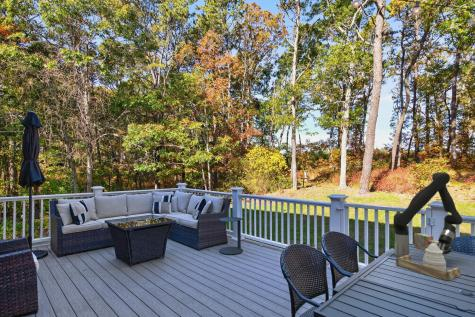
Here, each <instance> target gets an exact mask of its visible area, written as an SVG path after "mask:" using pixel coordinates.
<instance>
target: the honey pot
mask: <svg viewBox="0 0 475 317" xmlns="http://www.w3.org/2000/svg"><path fill="white" fill-rule="evenodd" d="M434 242H435V243H431V244H430V245H429V246H428V248H426V249H425V252H424V255H423V258H422V265H425V266H428V267H432V268H435V269H439V270H443V271H447V261H446V260H445V259H446V258H445V256H444V254H443V255H442V253H443V251H442V250H440V249H439V247H438V246H437V245H436V244H438V243H439V241H438V240H436V241H434Z"/></svg>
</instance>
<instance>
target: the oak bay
mask: <svg viewBox="0 0 475 317" xmlns="http://www.w3.org/2000/svg"><path fill="white" fill-rule="evenodd" d="M395 262H396V266H397V267H399V268H403V269H407V270H410V271H413V272H416V273H421V274H423V275H427V276H430V277H432V278H436V279H440V280H443V281H446V282H449V281H451V280H454V279H456V278H458V277H461V267H458V266H457V267H454V268H451V269H449V270H446V271H443V270H439V269H435V268H432V267H428V266H425V265H423V264H421V263H417V262H413V261H412V254H409V255H406V256H402V257H395Z"/></svg>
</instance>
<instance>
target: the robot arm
mask: <svg viewBox="0 0 475 317" xmlns="http://www.w3.org/2000/svg"><path fill="white" fill-rule="evenodd" d="M431 179H432V181H431V182H430V183H429V184H428V185H427V186H425V187H424V188H422V189H420V190H419V191H418V192H417V193H416V194H415V195H414V196H413V197H412V198H411V200H410V202H409V204H408V205H407V207H406V208H405V209H404V211H402V212H396V213H395V214H394V216H393V229H394V240H395V241H394V255H395V257H396V258H399V257H402V256H406V255H410V233H409V230H408V229H409V228H408V225H409V224H410V223H411V221H412V220H413V219H414V217H415V216H416V215H417V214H418V213H419V212H420V211H421V210H422V209H423V208H424V207H425V206H426V205H427V204H428V203H429V202H430V201H431V200H432V199H433V198H434V196H436V194H439V198H440V200H441V204H442V207H443V209H444V212H446V213H450V214H447V215H445V216H444V218H443V222H444V223H443V224H444V225H443V229H442V230H441V232H440V234H439V237H438V240H437V241H439V243H438V244H436V245H437V246H438V247H439V249H440V250H442V251H443V253H442V255H443V256H444V255H448V254H450V253H452V252H454V249H453V247H452V243H453V241H454V238H455V234H456V230H457V227H456V226H455V225H457V226H458V225H459V226H460V225H462V224H463V218H462V216H461V214H460V213H459V211H458V209H457V208H456V204H455V202H454V199H453V197H452V195H451V194H450V192H449V190H448V187H447V184H448V183H449V182H450V181H451V176H450V174H449V173H447V172H443V171H441V172H434V173H433V174H432V177H431Z"/></svg>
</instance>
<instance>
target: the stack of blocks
mask: <svg viewBox="0 0 475 317" xmlns="http://www.w3.org/2000/svg"><path fill="white" fill-rule="evenodd" d="M434 241H437V240H435V239H434V236H433V235H430V234H427V233H426V234H425V233H421V232H420V233H418V232H417V233H414V248H415V247H416V248H415V249H418V250H421V251H424V250H425V249H426V248H428V246H429V245H430V244H431V243H435V242H434Z"/></svg>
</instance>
